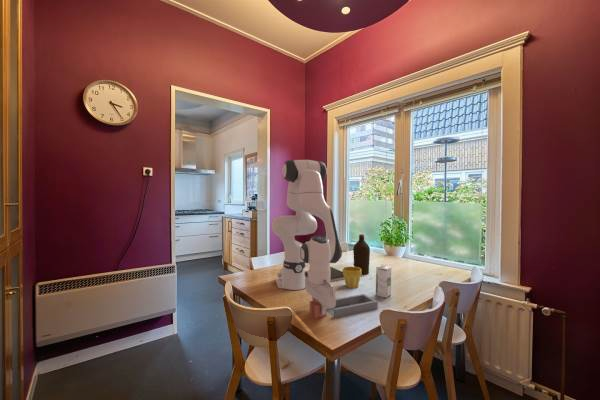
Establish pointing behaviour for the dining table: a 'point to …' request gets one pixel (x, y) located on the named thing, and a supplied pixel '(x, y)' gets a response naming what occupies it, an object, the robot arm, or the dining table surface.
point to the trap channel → (347, 309)
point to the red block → (316, 309)
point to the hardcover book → (336, 275)
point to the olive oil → (361, 255)
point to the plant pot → (352, 276)
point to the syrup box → (383, 281)
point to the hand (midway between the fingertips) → (319, 310)
